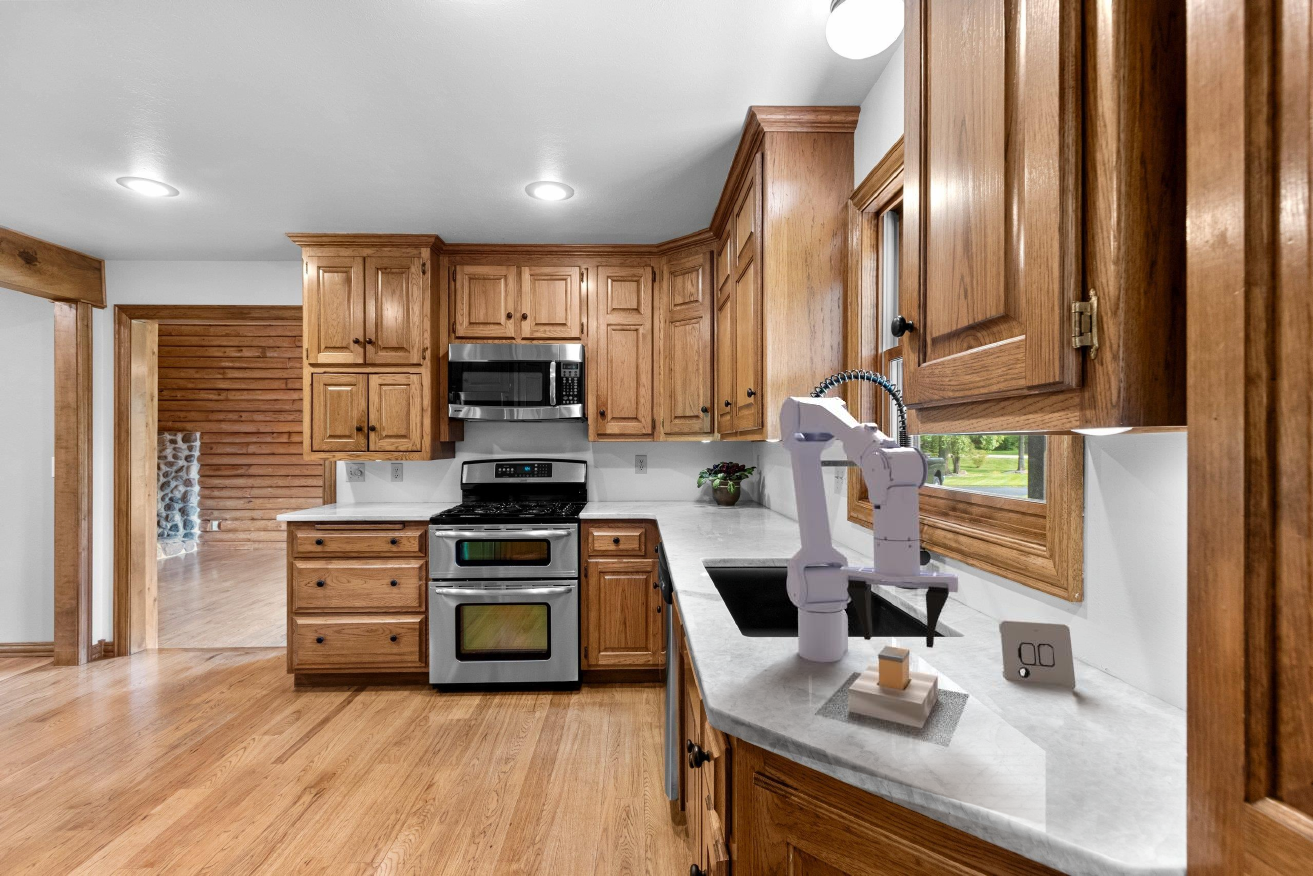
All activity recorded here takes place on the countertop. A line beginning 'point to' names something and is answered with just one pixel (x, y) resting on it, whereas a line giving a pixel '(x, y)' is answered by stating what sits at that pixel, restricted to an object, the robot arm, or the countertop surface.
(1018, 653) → the electrical switch
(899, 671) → the plug
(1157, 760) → the countertop surface
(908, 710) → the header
